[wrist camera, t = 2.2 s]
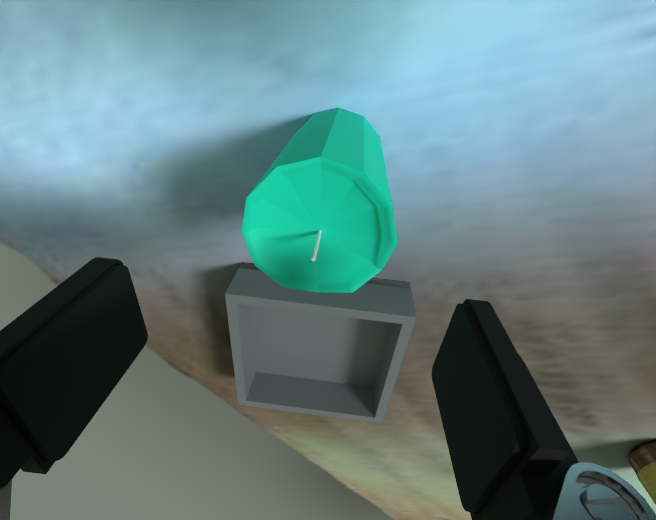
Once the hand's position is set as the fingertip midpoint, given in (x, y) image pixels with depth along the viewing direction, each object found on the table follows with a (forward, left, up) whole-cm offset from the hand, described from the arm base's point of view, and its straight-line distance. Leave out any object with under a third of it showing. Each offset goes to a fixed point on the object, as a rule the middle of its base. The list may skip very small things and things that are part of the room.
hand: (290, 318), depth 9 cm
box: (+15, 0, -14) cm, 21 cm away
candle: (-1, 0, -15) cm, 15 cm away
